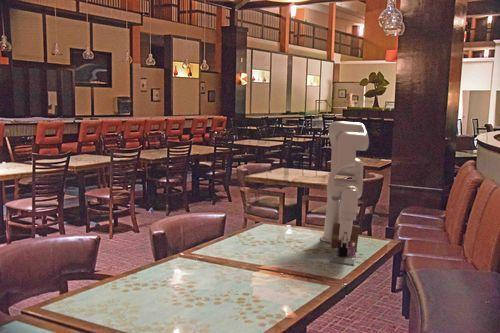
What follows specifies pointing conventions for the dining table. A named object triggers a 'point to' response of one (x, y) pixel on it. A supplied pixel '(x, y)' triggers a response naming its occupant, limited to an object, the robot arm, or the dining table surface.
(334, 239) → the screen
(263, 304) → the dining table surface
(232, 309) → the dining table surface
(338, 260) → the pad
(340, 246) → the pink radish toy
